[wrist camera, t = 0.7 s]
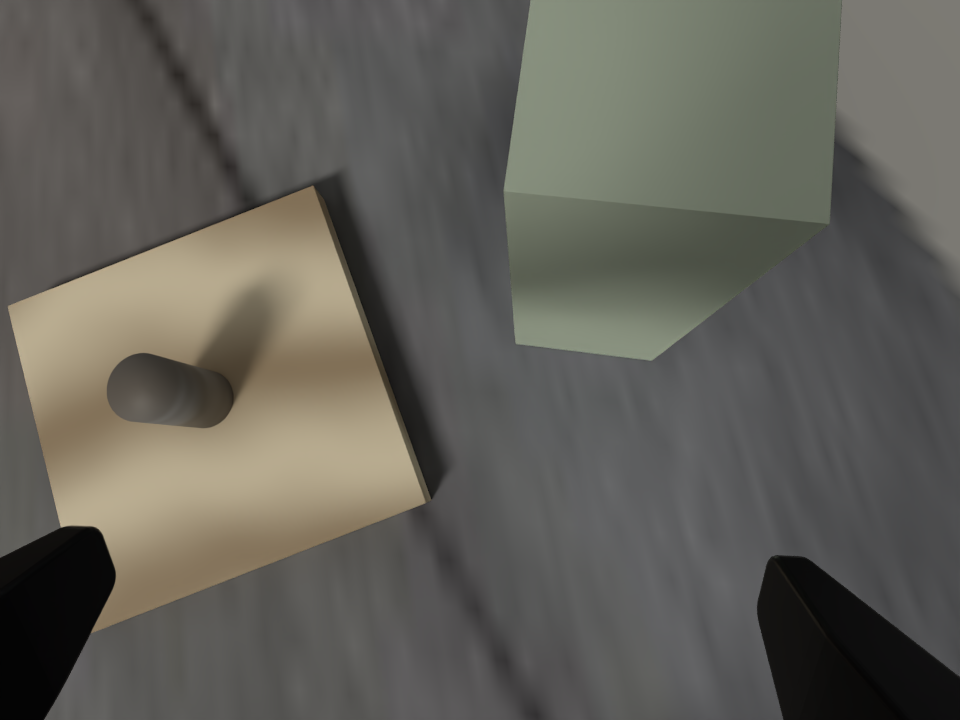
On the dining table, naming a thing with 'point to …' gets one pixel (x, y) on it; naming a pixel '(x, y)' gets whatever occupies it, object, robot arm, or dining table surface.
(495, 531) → the dining table surface
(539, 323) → the block
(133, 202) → the dining table surface
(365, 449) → the base
